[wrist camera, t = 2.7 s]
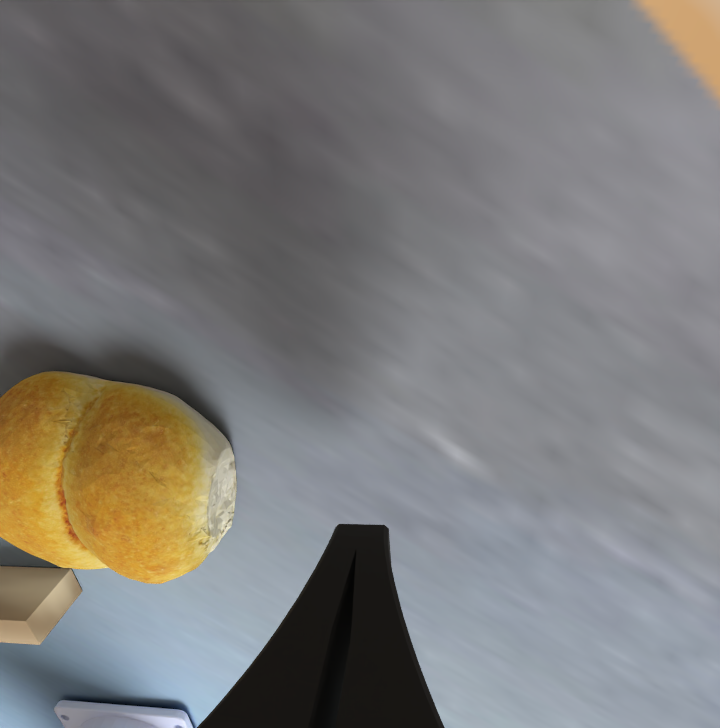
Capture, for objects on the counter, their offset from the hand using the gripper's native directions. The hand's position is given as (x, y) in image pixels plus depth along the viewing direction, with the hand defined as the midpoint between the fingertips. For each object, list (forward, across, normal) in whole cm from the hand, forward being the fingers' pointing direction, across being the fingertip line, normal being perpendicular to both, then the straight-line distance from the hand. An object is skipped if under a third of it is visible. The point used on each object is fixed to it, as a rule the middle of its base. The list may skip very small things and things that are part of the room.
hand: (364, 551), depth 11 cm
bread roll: (+4, +10, 0) cm, 10 cm away
